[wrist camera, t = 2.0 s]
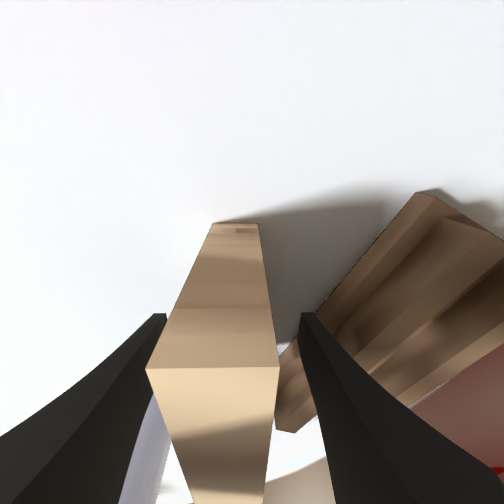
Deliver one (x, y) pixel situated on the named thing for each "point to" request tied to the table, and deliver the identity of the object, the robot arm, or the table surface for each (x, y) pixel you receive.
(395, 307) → the walnut ledge
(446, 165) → the table surface
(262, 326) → the oak frame
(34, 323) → the table surface
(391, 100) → the table surface
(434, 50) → the table surface
